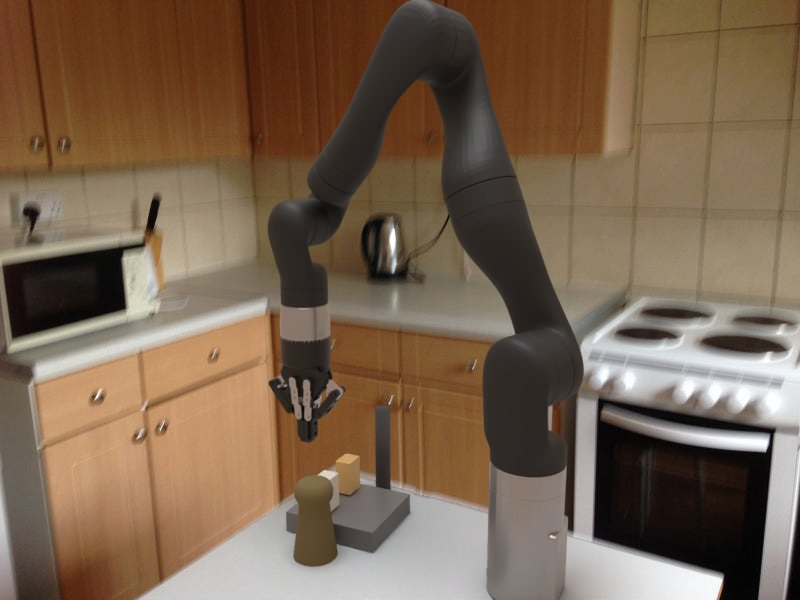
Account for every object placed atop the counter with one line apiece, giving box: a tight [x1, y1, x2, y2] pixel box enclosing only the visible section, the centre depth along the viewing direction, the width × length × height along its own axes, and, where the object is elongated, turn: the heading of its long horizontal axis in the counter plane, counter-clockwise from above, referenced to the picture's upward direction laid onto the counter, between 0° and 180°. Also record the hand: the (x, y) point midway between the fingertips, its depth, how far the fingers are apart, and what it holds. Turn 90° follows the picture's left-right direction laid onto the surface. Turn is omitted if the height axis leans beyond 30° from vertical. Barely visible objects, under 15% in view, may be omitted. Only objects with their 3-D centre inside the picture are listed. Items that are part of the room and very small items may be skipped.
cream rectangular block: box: [317, 469, 339, 512], centre depth 105 cm, size 2×3×5 cm
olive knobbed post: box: [292, 474, 338, 567], centre depth 99 cm, size 6×6×11 cm
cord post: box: [374, 405, 392, 490], centre depth 117 cm, size 2×2×14 cm
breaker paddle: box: [335, 453, 361, 495], centre depth 111 cm, size 2×3×5 cm
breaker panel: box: [285, 483, 411, 554], centre depth 108 cm, size 14×12×3 cm
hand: (307, 440), depth 113 cm, fingers closed
